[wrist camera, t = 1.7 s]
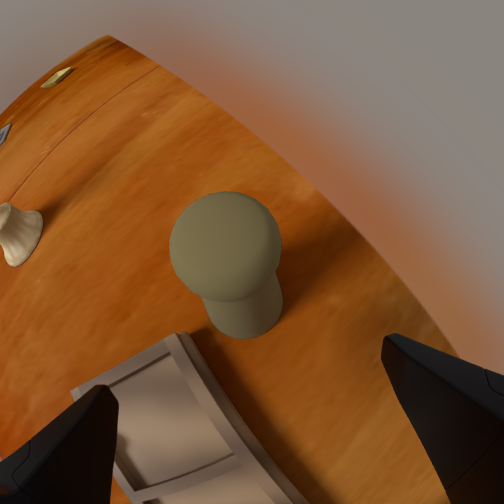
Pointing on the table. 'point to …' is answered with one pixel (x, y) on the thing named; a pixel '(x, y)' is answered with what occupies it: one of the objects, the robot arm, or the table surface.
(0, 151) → the table surface
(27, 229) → the hand bell
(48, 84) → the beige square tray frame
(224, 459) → the divided tray
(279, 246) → the olive pepper mill
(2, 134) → the grey hexagonal frame
